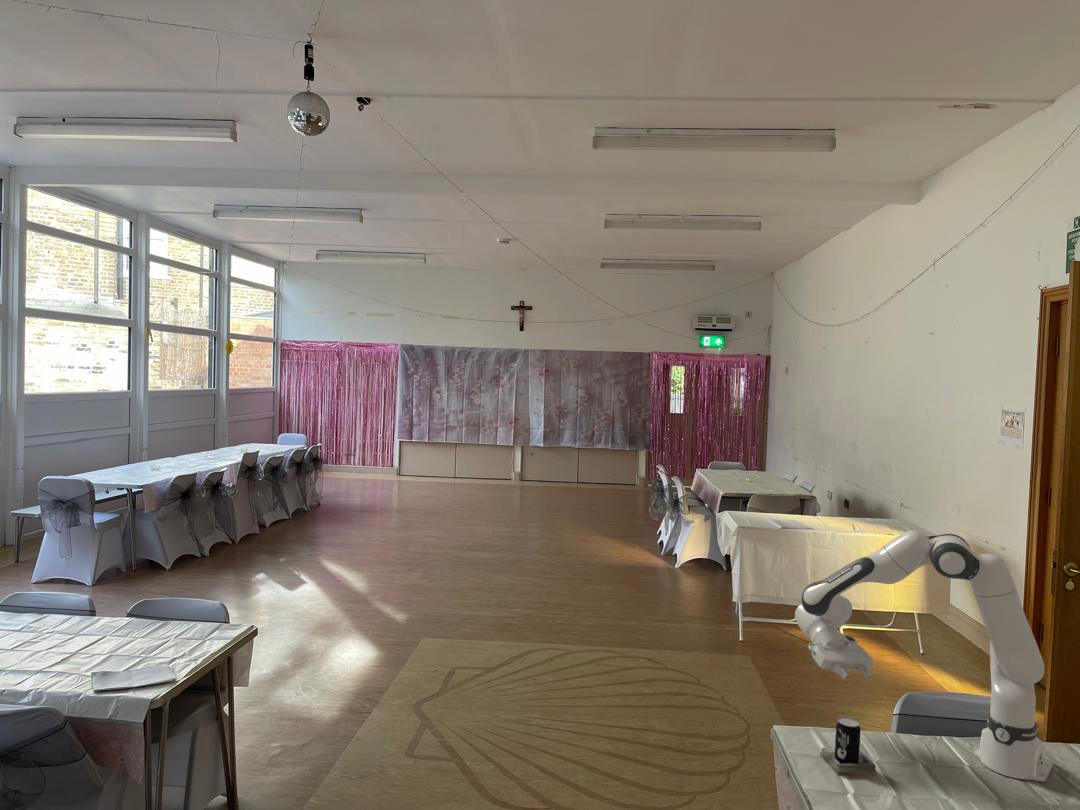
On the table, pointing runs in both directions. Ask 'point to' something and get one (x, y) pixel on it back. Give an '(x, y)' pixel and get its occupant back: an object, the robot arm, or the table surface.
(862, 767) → the brown flat square tray
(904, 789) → the table surface
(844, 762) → the beverage can
